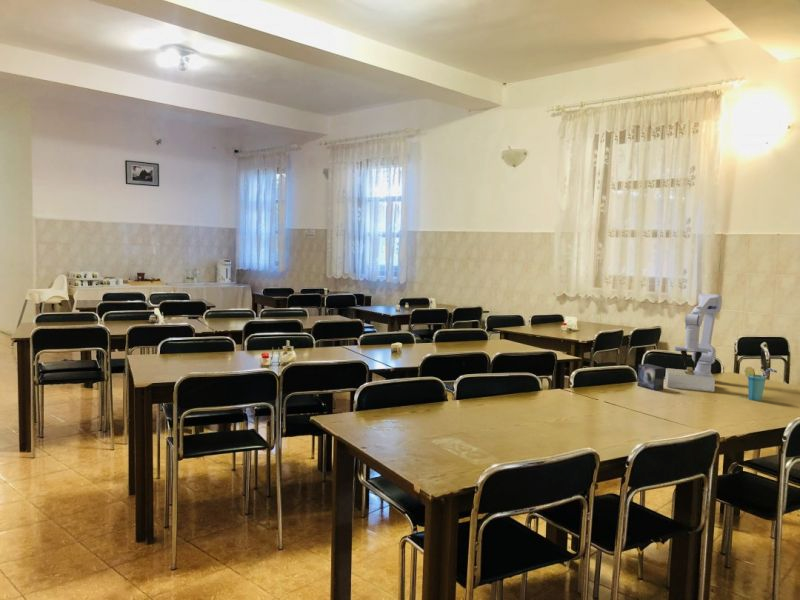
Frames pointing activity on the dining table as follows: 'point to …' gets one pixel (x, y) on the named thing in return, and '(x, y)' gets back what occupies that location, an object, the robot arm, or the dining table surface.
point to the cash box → (690, 380)
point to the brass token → (689, 370)
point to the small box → (651, 376)
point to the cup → (756, 383)
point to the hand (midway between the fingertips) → (690, 367)
